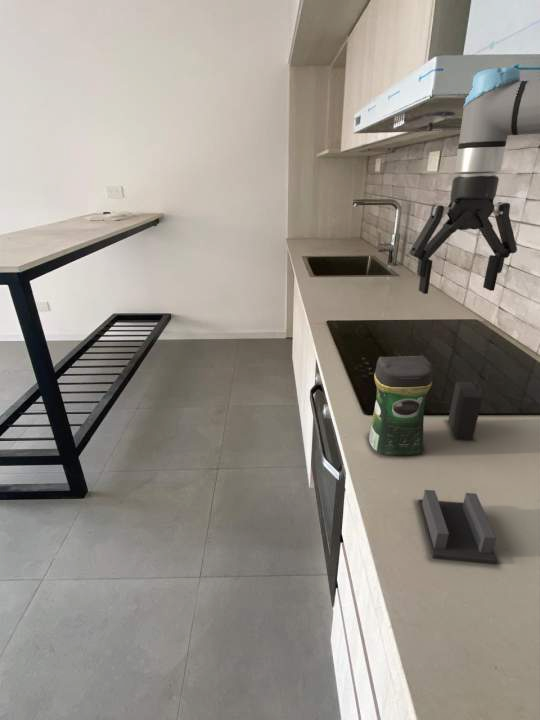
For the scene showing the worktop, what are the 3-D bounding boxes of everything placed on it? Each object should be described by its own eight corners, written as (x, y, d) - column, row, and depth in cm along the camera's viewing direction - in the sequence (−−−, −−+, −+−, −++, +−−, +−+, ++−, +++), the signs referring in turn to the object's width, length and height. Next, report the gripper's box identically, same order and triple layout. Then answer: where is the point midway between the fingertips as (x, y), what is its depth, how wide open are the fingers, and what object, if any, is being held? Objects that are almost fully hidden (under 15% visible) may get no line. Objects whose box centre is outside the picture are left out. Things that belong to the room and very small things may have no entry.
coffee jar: (412, 432, 80) (425, 348, 72) (426, 458, 72) (442, 367, 64) (364, 433, 80) (372, 349, 72) (373, 459, 73) (383, 369, 65)
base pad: (470, 509, 61) (476, 488, 60) (494, 566, 52) (502, 544, 51) (417, 504, 62) (421, 484, 61) (432, 560, 54) (436, 538, 52)
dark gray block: (462, 424, 82) (472, 381, 77) (472, 442, 76) (482, 397, 72) (447, 423, 82) (455, 381, 78) (455, 441, 77) (465, 396, 72)
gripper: (529, 172, 75) (504, 283, 84) (400, 177, 74) (389, 288, 83) (558, 172, 68) (527, 292, 77) (416, 177, 67) (402, 298, 76)
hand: (455, 290), depth 80 cm, fingers open, 13 cm apart
